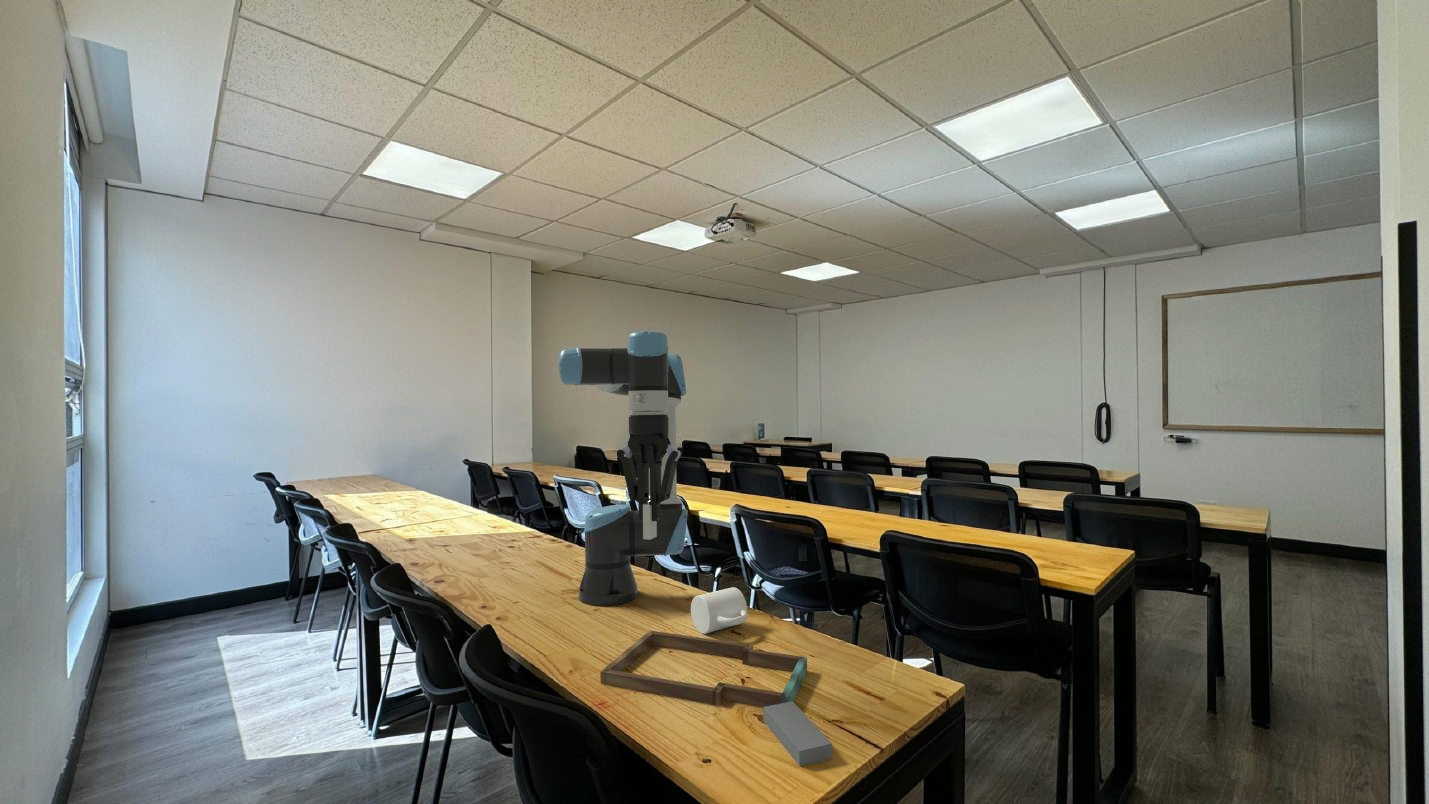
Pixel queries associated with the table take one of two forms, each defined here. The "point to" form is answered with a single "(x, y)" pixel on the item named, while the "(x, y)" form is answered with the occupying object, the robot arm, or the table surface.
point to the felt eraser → (797, 733)
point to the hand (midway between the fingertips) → (650, 537)
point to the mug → (718, 610)
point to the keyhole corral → (699, 692)
